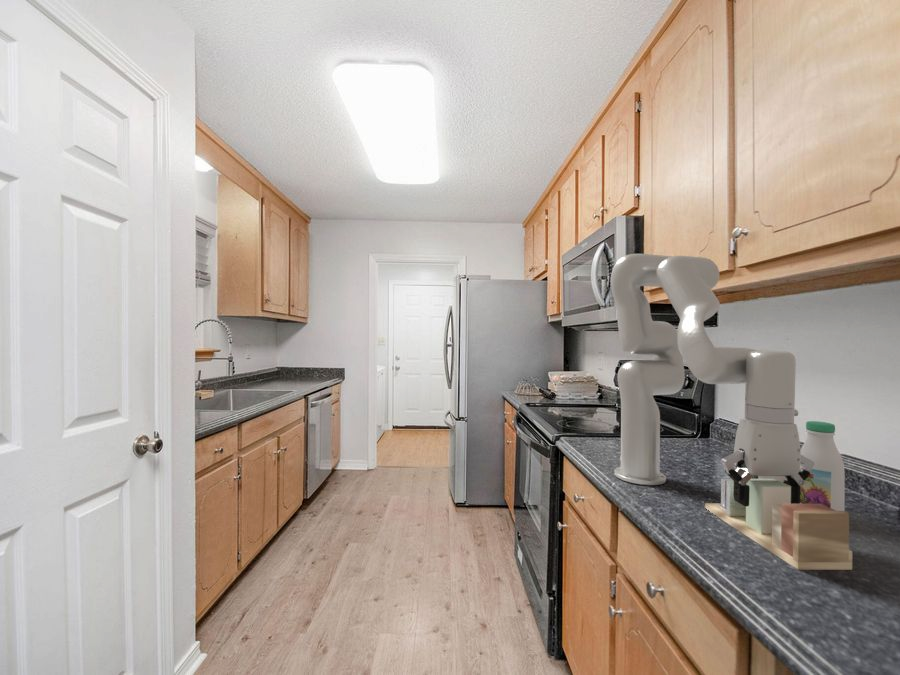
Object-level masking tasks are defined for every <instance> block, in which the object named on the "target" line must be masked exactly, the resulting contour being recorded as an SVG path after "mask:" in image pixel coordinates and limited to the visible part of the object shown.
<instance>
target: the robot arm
mask: <svg viewBox="0 0 900 675" xmlns="http://www.w3.org/2000/svg"><path fill="white" fill-rule="evenodd" d="M719 279H720V270H719V267H718V265H717V264H716V263H715V261H713V260H711V259H710V258H707V257H702V256H692V255H674V256H672V255H661V254H660V255H658V254H649V253H631V254H630V253H629V254H626V255H623V256H622V257H620V258H619V259H618V260H617V261H616V263H615V264H614V265H613V268H612V271H611V274H610V289H611V293H612V296H613V300H614V304H615V309H616V318H617V329H618V338H619V343H620V345H619V346H620V348H621V350H622V351H623V352H624V353H625V354H628V355H632V356H651V357H652V359H636V360H630V361H626V362H625V363H623V364H622V365H621V366H620V367H619V368H618V371H617V385H618V390H619V395H620V396H619V398H620V456H619V459H620V466H618V467H615V469H614V476H615V477H616V478H618V479H620V480H622V481H624V482H627V483H632V484H635V485H642V486H643V485H645V486H658V485H659V486H660V485H662V484H665V483H666V481H667V476H666V475H665V474H664V473H663V472H661V471H660V465H661V464H660V461H661V460H660V455H661V454H660V451H661V450H660V447H661V442H660V441H661V412H660V409H659V408H660V407H659V406H658V404H657V402H656V400H655V398H654V396H662V395H663V396H666V395H674V394H676V393H679V392H681V390H682V388H683V386H684V384H685V379H686V378H685V367H684V362H685V364H686V367H688V370H690V373H692V375H693V376H694V377H695V378H696V379H697V380H699V381H701V382H702V383H704V384H709V385H725V384H726V385H727V384H731V385H732V384H733V385H734V384H735V385H737V384H741V385H742V384H745V392H744V394H745V396H744V419H740V420H739V422H738V425H737V429H736V434H735V440H734V447H733V453H730V454H728V455H727V456H724V457H722V458H721V459H720V462H721V465H722V467H723V469H724V471H725V472H724V473H725V474H726V475H727V476H729V479H731V480H733V481H734V493H733V495H734V500H735V501H736V502H738V503H740V504H741V505H743V506H749V491H750V487H749V486H748V485H746V484H747V482H748V481H749V480H750V479H752V477H753V476H754V475H755V476H785V478H786V479H787V480H784V482H783V483H785V484H787V485H789V486H791V504H800V486H803V485H804V483H805V482H804V481H805V480H806V479H807V478H808V477H809V476H810V472H811V470H812V468H813V466H814V462H813V461H812V460H810V459H808V458H806V457H804V456H802V455H801V453H800V449H801V441H800V435H799V430H798V426H797V424H796V423H795V417H797V416H799V411H798V409H796V408H795V406H796V405H795V404H796V403H795V402H796V401H795V400H796V399H795V397H796V373H797V372H796V371H797V370H796V366H797V363H796V360H797V359H796V356H795V355H794V354H793V353H792V352H790V351H785V350H769V349H767V350H765V349H764V350H763V349H762V350H761V349H760V350H758V349H752V348H748V347H747V348H745V347H731V346H729V347H728V346H727V347H723V346H722V347H719V346H718V347H717V346H715V345H714V343H713V342H712V341H711V339H710V337H709V335H708V334H707V332H706V329H705V325H704V322H706V321H707V320H709V319H710V318H712V317H713V316H714V315H715V314H716V313H717V312H718V311H719V309H720V307H721V304H720V301H719V299H718V297H717V295H715V293H714V290H712V289H713V288H714V287H715V288H716V286H717V284H718V283H719V281H720V280H719ZM641 287H652V288H653V287H654V288H662V290H663V291H664V293H665V295H666V296H667V297H666V298H667V299H668V301H669V302H670V304H671V305H672V308H673V309H674V310H675V313H676V314H677V316H678V317H679V323H678V327H677V329H676V327H675V326H674V325H673V324H671V323H669V322H667V321H663V320H662V321H660V320H653V317H652V315H651V307H650V306H651V305H650V302H649V300H648V298H647V296H646V295H645V293H644V292H643V291H642V290H641ZM800 464H801V465H800ZM735 468H736V469H735Z"/></svg>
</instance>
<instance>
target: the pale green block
mask: <svg viewBox="0 0 900 675" xmlns="http://www.w3.org/2000/svg"><path fill="white" fill-rule="evenodd" d="M746 485H748V486H749V487H750V491H749V506H746V525H747V526H749V527H750V528H752V529H754V530H755V531H757V532H759V533H760V534H772V505H782V504H791V486H789V485H787V484H785V483H782V482H780V481H778V480H775V479H752V478H751V479H750V480H749V481H748V482H747V484H746Z"/></svg>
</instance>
